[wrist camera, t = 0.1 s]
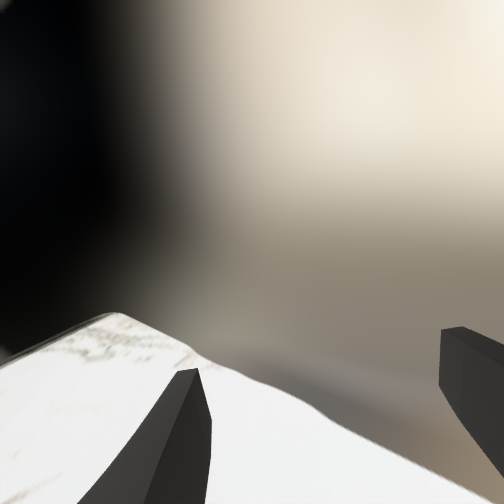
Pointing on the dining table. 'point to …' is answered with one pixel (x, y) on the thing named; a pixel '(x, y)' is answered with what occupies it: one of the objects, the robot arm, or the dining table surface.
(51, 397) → the dining table surface
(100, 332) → the dining table surface
